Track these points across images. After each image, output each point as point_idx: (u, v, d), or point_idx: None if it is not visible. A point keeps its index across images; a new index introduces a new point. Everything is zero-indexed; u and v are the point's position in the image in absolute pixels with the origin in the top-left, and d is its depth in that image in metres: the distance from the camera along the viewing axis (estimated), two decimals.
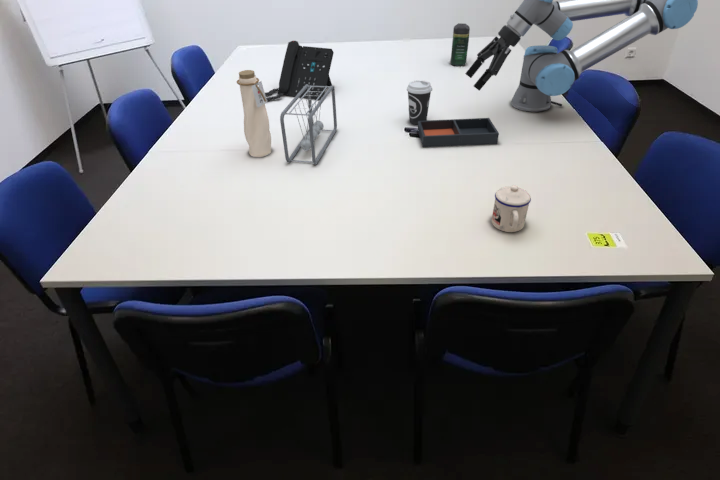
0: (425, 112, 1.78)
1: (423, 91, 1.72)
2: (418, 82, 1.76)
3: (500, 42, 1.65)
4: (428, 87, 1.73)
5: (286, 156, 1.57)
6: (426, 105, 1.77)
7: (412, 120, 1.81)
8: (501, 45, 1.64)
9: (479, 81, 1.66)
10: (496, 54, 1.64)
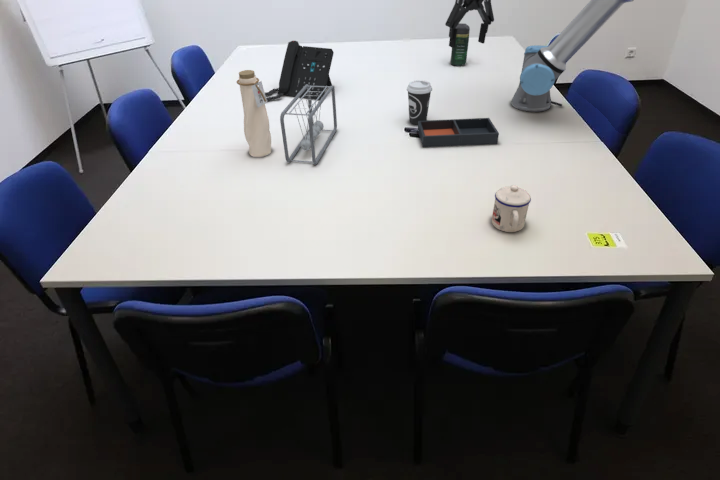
0: (425, 112, 1.78)
1: (423, 91, 1.72)
2: (418, 82, 1.76)
3: None
4: (428, 87, 1.73)
5: (286, 156, 1.57)
6: (426, 105, 1.77)
7: (412, 120, 1.81)
8: None
9: (450, 39, 1.72)
10: (461, 8, 1.67)
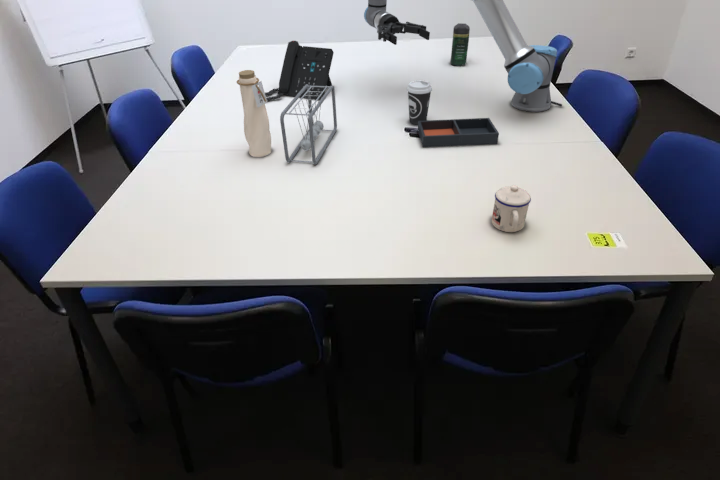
0: (425, 112, 1.78)
1: (423, 91, 1.72)
2: (418, 82, 1.76)
3: None
4: (428, 87, 1.73)
5: (286, 156, 1.57)
6: (426, 105, 1.77)
7: (412, 120, 1.81)
8: None
9: (391, 41, 1.73)
10: None
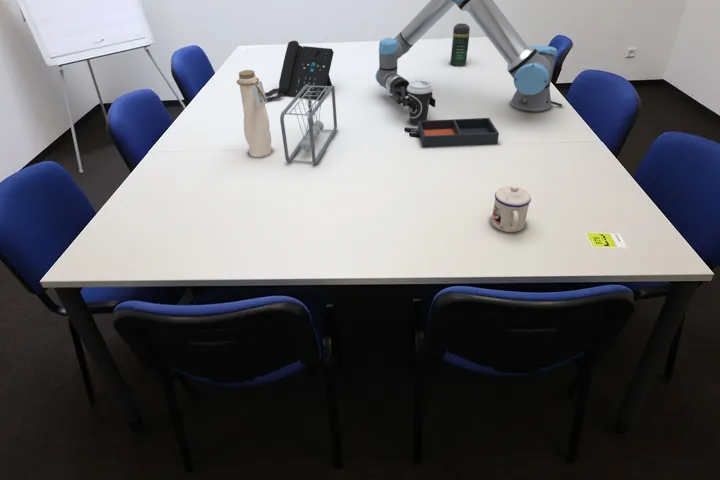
0: (425, 112, 1.79)
1: (423, 91, 1.72)
2: (418, 82, 1.76)
3: None
4: (428, 87, 1.73)
5: (286, 156, 1.57)
6: (426, 105, 1.77)
7: (412, 120, 1.81)
8: None
9: (411, 107, 1.76)
10: (401, 97, 1.84)
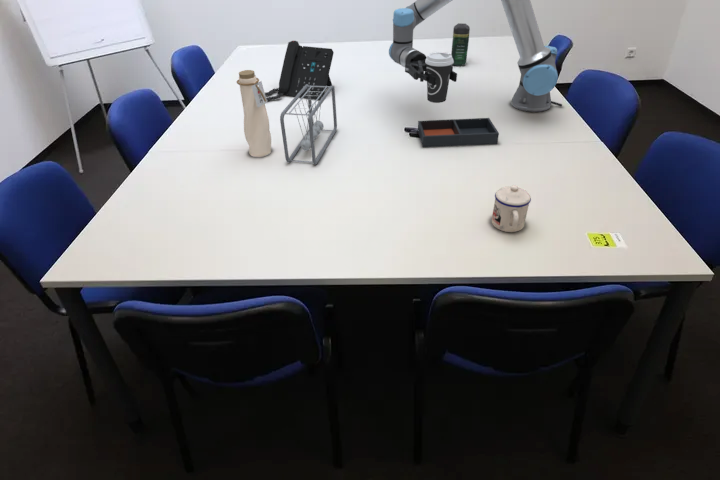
0: (445, 88, 1.61)
1: (444, 63, 1.54)
2: (438, 54, 1.59)
3: None
4: (449, 59, 1.55)
5: (286, 156, 1.57)
6: (447, 79, 1.59)
7: (431, 97, 1.63)
8: None
9: (429, 82, 1.58)
10: (418, 72, 1.67)
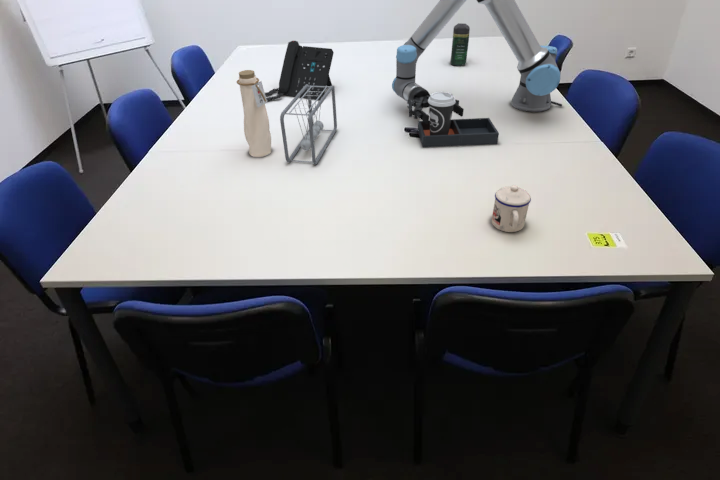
0: (448, 126, 1.66)
1: (446, 104, 1.60)
2: (440, 94, 1.64)
3: None
4: (451, 99, 1.60)
5: (286, 156, 1.57)
6: (449, 118, 1.64)
7: (433, 134, 1.68)
8: None
9: (423, 119, 1.64)
10: None
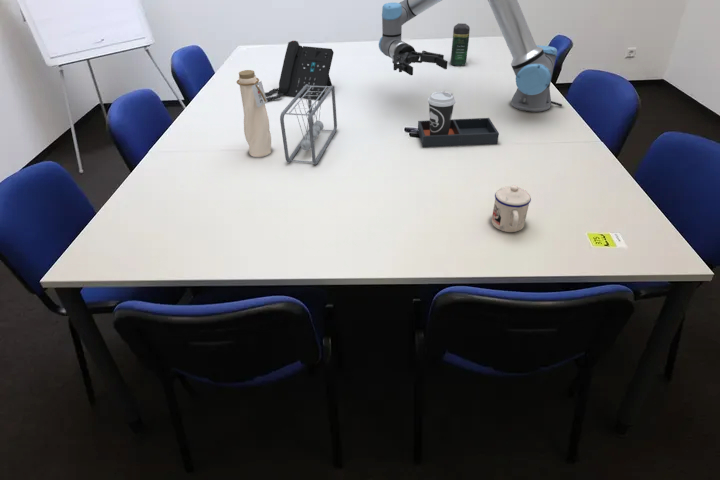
0: (448, 126, 1.66)
1: (446, 104, 1.60)
2: (440, 94, 1.64)
3: None
4: (451, 99, 1.60)
5: (286, 156, 1.57)
6: (449, 118, 1.64)
7: (433, 134, 1.68)
8: None
9: (407, 72, 1.66)
10: None
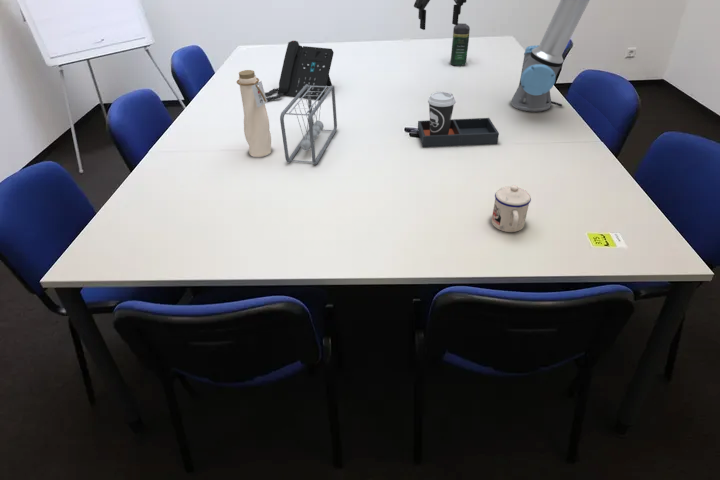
0: (448, 126, 1.66)
1: (446, 104, 1.60)
2: (440, 94, 1.64)
3: None
4: (451, 99, 1.60)
5: (286, 156, 1.57)
6: (449, 118, 1.64)
7: (433, 134, 1.68)
8: None
9: (420, 21, 1.71)
10: None
